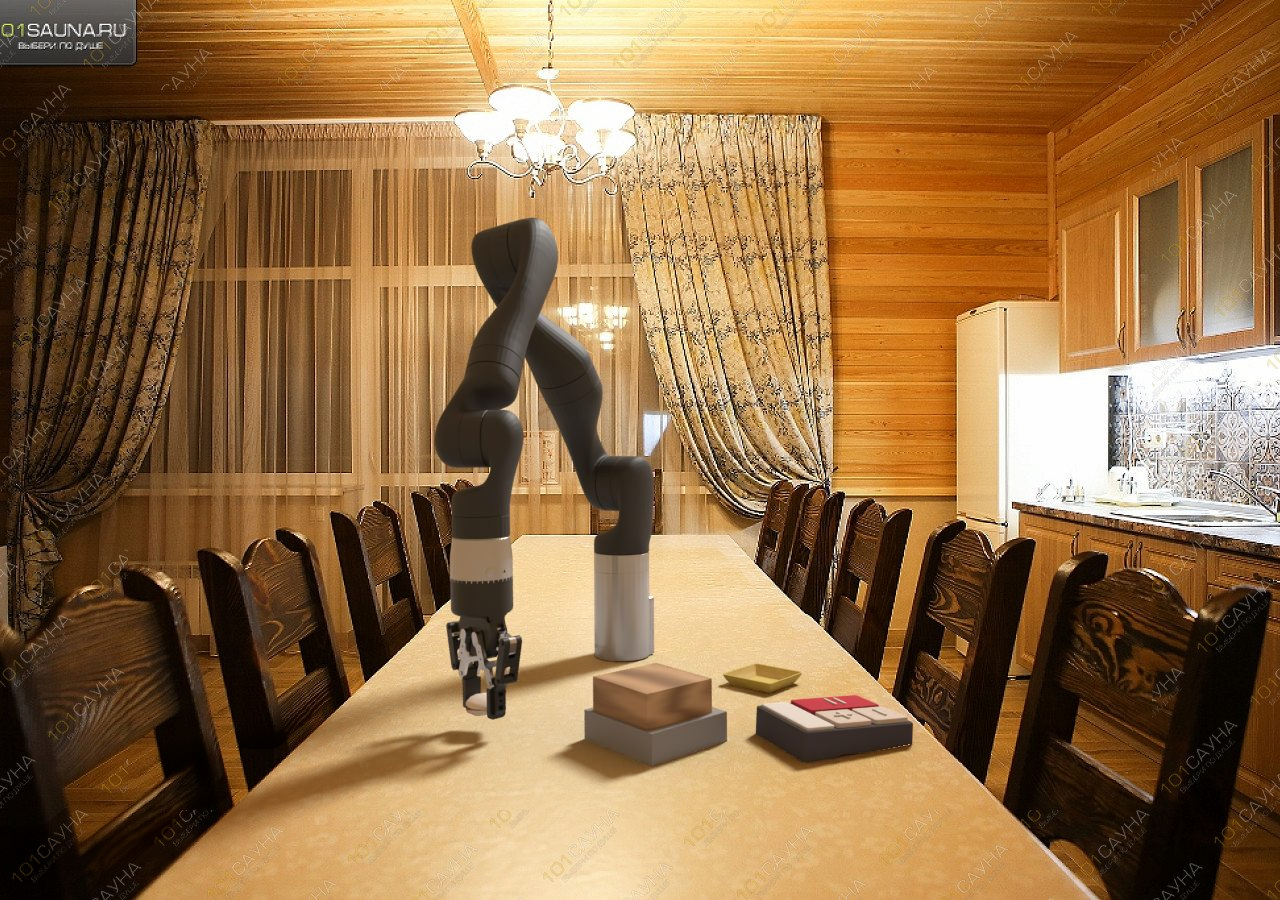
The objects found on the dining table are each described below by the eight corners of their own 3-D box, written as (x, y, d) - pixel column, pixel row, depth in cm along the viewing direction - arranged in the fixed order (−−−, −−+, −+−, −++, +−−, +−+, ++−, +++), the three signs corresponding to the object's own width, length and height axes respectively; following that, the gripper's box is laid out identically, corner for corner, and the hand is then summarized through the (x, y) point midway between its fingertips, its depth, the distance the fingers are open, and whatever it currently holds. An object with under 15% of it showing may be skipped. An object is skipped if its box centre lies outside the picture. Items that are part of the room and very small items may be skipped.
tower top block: (656, 694, 109) (656, 662, 109) (711, 712, 102) (711, 678, 102) (593, 709, 103) (592, 676, 103) (647, 730, 95) (646, 694, 95)
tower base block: (658, 721, 111) (658, 690, 111) (727, 745, 102) (726, 711, 102) (584, 743, 103) (584, 709, 103) (652, 770, 94) (651, 734, 94)
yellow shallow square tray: (721, 687, 126) (720, 673, 126) (755, 675, 133) (755, 662, 133) (770, 698, 120) (770, 683, 120) (803, 686, 127) (803, 671, 127)
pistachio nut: (486, 707, 109) (486, 687, 109) (513, 715, 106) (512, 695, 106) (459, 716, 106) (458, 695, 106) (485, 724, 102) (485, 703, 102)
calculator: (915, 716, 101) (806, 725, 95) (913, 753, 101) (804, 765, 95) (857, 691, 111) (755, 699, 105) (855, 725, 111) (753, 734, 105)
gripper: (541, 576, 102) (543, 719, 103) (477, 564, 113) (479, 693, 113) (486, 584, 97) (488, 734, 98) (425, 570, 108) (427, 706, 108)
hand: (483, 711), depth 106 cm, fingers closed on pistachio nut, 5 cm apart
